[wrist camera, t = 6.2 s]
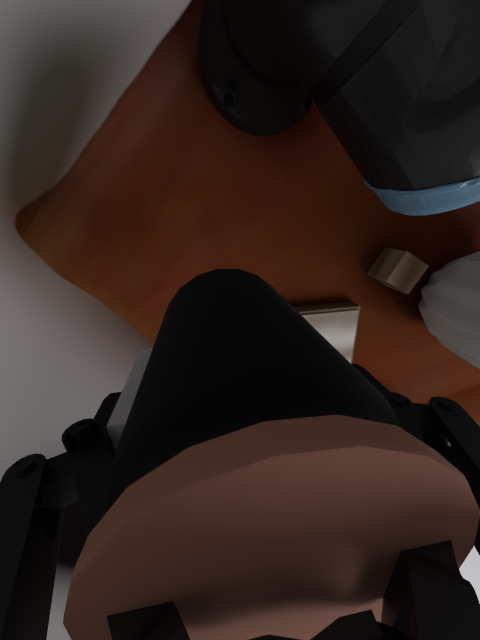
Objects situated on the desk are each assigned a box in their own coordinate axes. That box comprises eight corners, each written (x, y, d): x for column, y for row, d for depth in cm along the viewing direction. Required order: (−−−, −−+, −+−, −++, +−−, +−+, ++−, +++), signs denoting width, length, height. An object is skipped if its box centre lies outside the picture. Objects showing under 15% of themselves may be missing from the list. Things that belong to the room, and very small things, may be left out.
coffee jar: (180, 382, 25) (141, 718, 8) (151, 276, 20) (-59, 532, 4) (285, 361, 25) (440, 627, 9) (278, 256, 21) (547, 393, 5)
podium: (264, 309, 42) (268, 316, 40) (352, 301, 44) (362, 307, 42) (264, 386, 49) (268, 396, 46) (341, 376, 51) (349, 385, 48)
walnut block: (366, 274, 43) (386, 281, 38) (384, 247, 41) (407, 251, 37) (386, 286, 44) (408, 294, 40) (404, 260, 43) (429, 265, 38)
